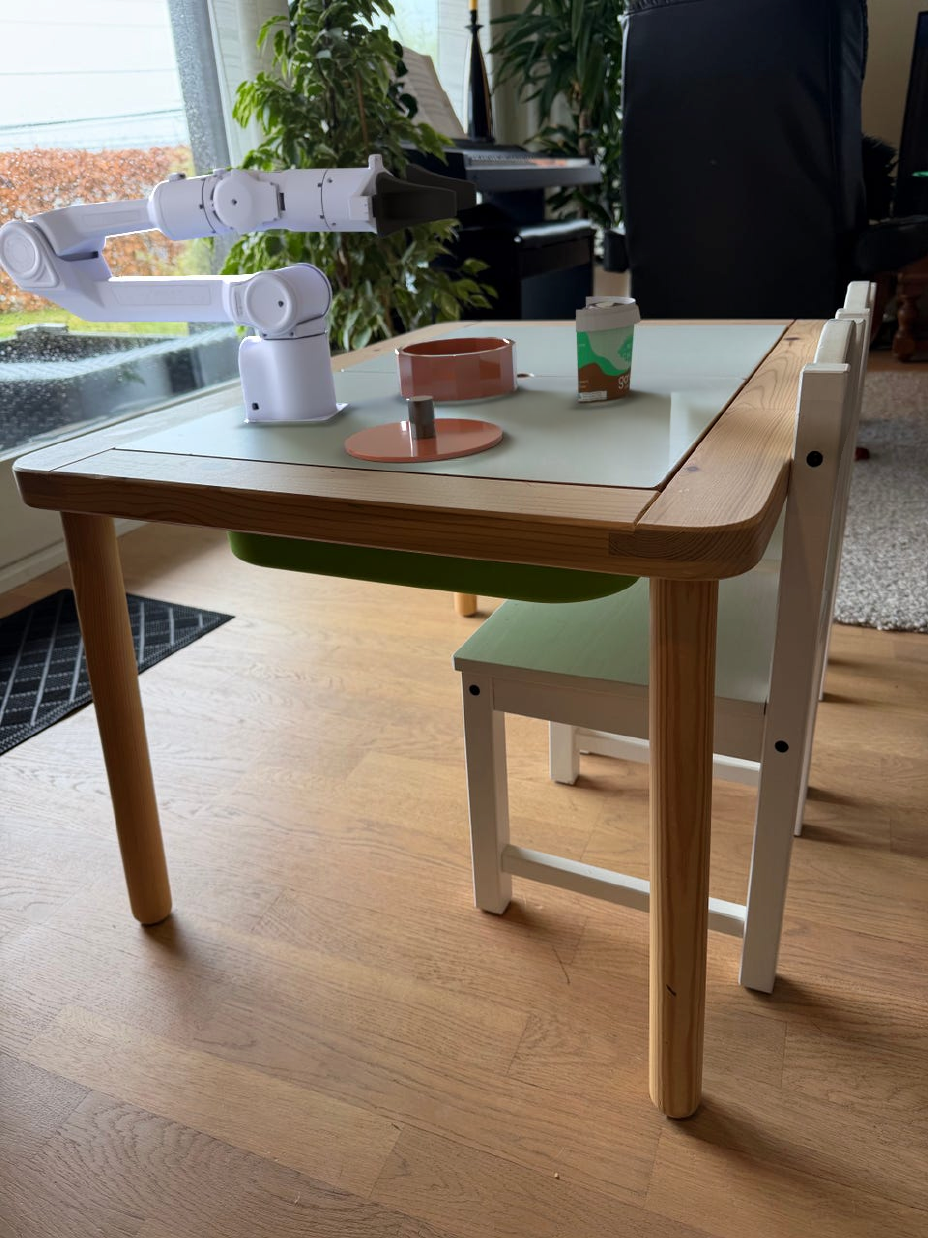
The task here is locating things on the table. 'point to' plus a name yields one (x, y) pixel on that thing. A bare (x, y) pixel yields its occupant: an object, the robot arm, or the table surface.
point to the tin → (457, 368)
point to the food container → (605, 347)
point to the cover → (423, 437)
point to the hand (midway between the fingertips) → (466, 198)
